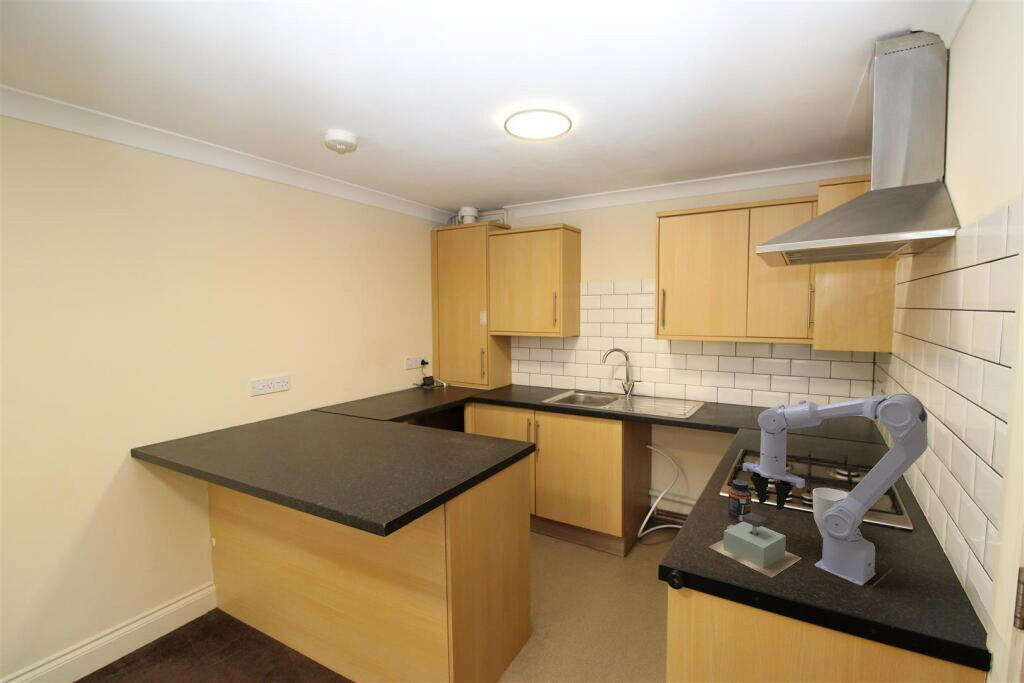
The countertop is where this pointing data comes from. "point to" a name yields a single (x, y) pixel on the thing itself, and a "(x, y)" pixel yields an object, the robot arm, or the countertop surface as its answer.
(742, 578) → the countertop surface
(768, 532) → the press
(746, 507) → the supplement bottle
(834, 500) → the mug
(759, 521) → the grey square plunger
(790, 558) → the board
